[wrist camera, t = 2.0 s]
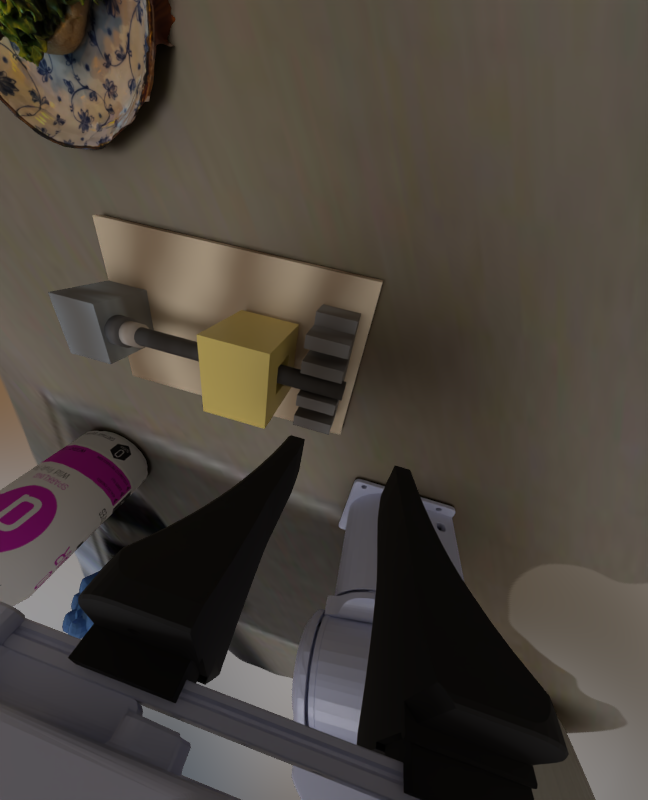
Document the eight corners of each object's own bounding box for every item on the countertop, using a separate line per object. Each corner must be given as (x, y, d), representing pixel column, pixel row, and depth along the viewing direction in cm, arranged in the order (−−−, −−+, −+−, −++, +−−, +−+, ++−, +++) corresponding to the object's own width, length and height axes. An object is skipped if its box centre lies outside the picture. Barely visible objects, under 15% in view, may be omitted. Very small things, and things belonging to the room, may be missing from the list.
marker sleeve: (298, 324, 18) (269, 354, 14) (290, 388, 21) (264, 428, 17) (241, 309, 18) (196, 334, 14) (241, 374, 21) (203, 411, 17)
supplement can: (84, 415, 30) (-131, 546, 18) (153, 447, 31) (-12, 597, 18) (91, 460, 35) (-76, 588, 23) (151, 487, 35) (19, 629, 23)
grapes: (136, 541, 45) (63, 629, 35) (162, 564, 48) (101, 652, 38) (95, 543, 50) (21, 622, 40) (121, 564, 53) (58, 643, 43)
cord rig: (383, 280, 17) (378, 298, 12) (341, 428, 23) (329, 472, 19) (103, 215, 18) (17, 212, 14) (139, 371, 25) (89, 400, 21)
